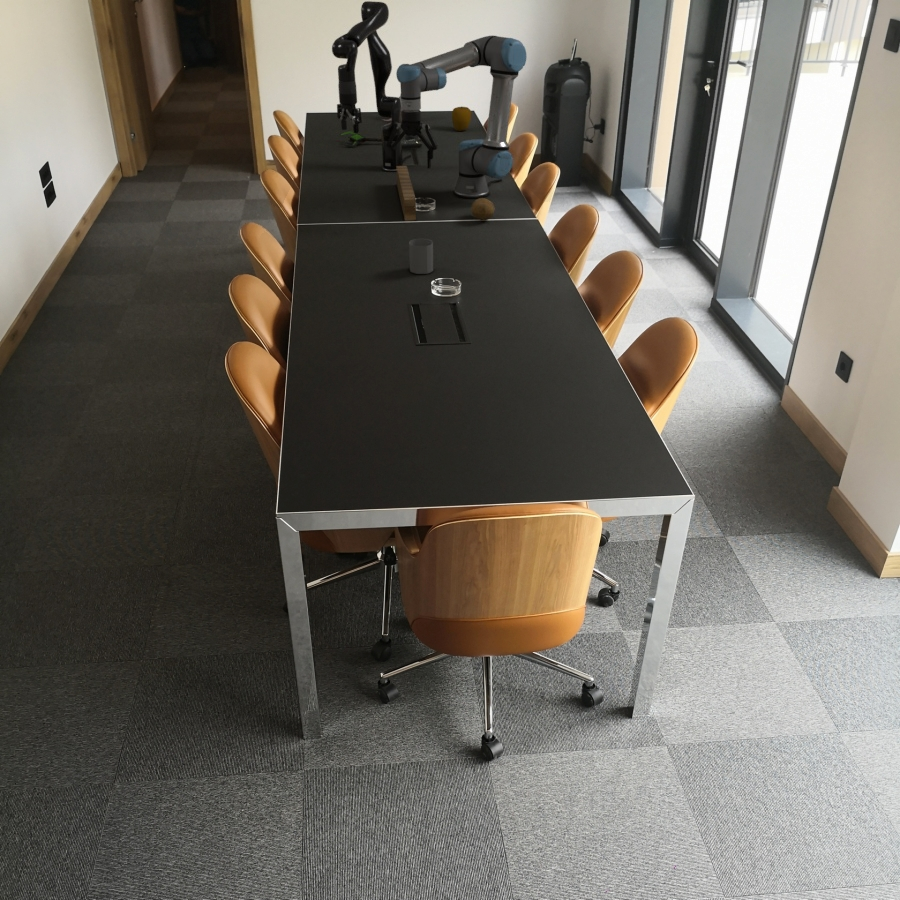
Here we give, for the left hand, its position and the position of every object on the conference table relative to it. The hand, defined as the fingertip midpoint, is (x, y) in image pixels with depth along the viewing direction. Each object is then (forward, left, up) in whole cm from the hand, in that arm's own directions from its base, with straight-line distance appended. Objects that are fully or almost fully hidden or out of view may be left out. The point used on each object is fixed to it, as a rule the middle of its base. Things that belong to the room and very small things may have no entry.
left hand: (350, 131), depth 376 cm
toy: (-127, -58, -26) cm, 142 cm away
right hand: (+22, +45, -4) cm, 50 cm away
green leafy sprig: (-75, -43, -26) cm, 91 cm away
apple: (-129, -16, -26) cm, 132 cm away
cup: (+68, +77, -26) cm, 106 cm away
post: (+2, +29, -26) cm, 39 cm away
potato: (+7, +69, -26) cm, 74 cm away
